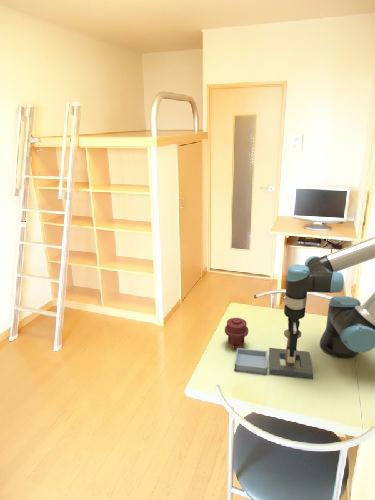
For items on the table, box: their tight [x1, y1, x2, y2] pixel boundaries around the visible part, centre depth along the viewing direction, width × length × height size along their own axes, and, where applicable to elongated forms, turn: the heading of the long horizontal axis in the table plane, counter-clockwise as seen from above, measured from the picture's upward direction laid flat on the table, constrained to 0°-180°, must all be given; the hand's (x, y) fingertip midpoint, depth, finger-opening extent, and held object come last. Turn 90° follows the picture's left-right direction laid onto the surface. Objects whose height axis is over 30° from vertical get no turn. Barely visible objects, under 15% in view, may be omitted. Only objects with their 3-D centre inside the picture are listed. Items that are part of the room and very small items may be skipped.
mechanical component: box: [224, 317, 249, 350], centre depth 152 cm, size 12×10×10 cm
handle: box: [283, 328, 302, 367], centre depth 138 cm, size 5×6×15 cm
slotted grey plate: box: [268, 347, 315, 380], centre depth 140 cm, size 16×14×2 cm
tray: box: [234, 347, 268, 376], centre depth 141 cm, size 12×11×3 cm
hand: (290, 358), depth 139 cm, fingers closed on handle, 4 cm apart
